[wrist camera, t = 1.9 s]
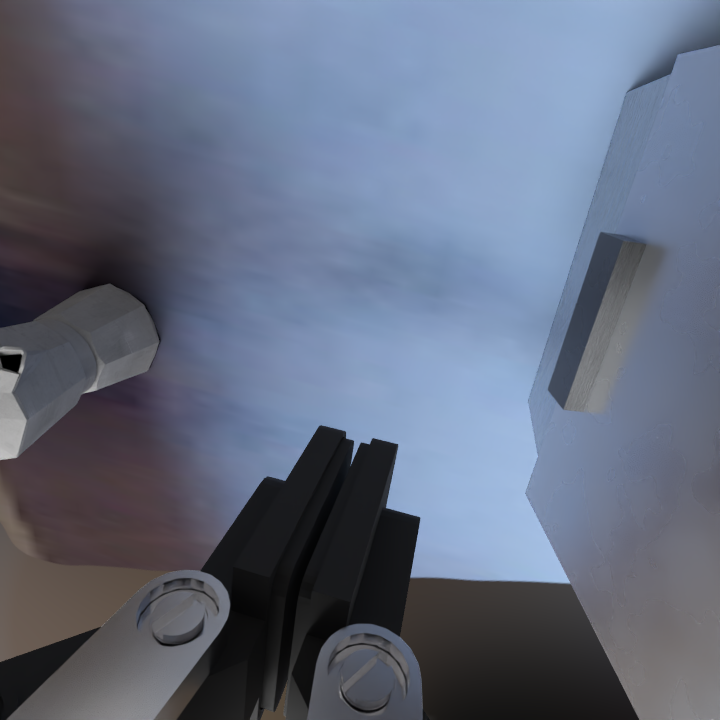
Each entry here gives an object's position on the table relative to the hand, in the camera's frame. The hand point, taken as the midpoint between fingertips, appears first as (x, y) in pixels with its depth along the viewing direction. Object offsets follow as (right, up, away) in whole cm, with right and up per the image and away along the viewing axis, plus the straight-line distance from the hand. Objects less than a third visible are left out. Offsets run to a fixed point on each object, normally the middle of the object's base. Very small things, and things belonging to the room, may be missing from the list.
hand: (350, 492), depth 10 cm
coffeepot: (-23, +5, +36) cm, 44 cm away
